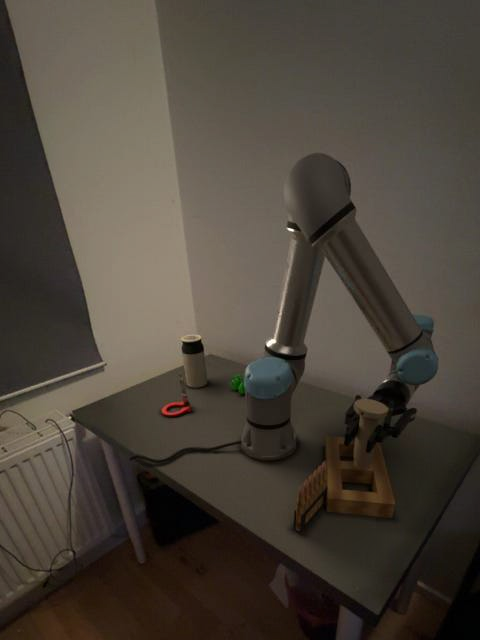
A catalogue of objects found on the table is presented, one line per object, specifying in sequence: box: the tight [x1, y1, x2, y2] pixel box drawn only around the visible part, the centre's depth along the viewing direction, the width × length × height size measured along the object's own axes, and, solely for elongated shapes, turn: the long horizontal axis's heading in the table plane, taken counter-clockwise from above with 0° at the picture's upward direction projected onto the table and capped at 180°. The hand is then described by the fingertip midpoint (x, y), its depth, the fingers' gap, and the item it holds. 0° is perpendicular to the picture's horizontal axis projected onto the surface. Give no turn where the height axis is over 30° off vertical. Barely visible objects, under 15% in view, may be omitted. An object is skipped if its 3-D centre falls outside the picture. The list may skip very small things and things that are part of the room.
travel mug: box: [180, 334, 208, 388], centre depth 128 cm, size 8×8×18 cm
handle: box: [352, 398, 388, 471], centre depth 71 cm, size 5×6×15 cm
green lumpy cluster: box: [229, 373, 245, 396], centre depth 126 cm, size 15×15×7 cm
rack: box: [324, 435, 396, 519], centre depth 82 cm, size 13×23×4 cm, turn 169°
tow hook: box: [161, 371, 192, 418], centre depth 113 cm, size 8×13×9 cm
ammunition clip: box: [292, 460, 328, 535], centre depth 71 cm, size 11×2×12 cm, turn 140°
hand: (357, 443), depth 66 cm, fingers closed on handle, 4 cm apart
